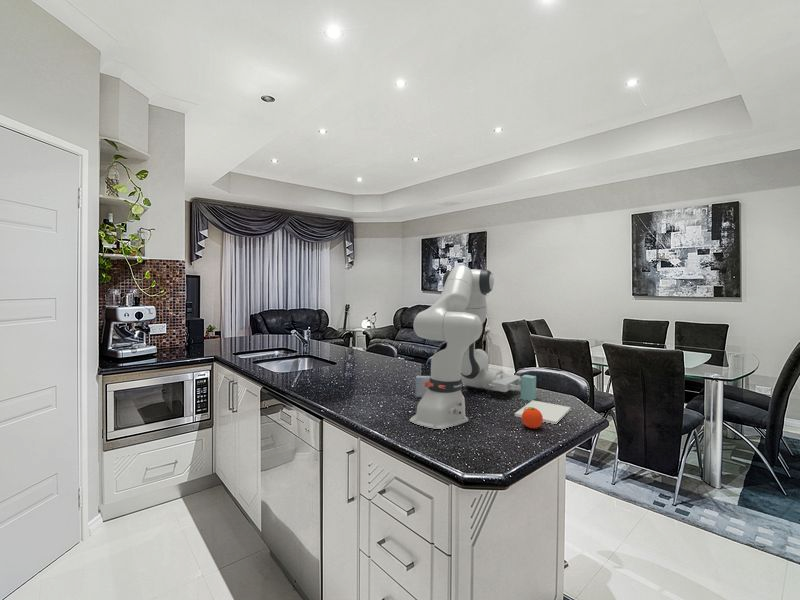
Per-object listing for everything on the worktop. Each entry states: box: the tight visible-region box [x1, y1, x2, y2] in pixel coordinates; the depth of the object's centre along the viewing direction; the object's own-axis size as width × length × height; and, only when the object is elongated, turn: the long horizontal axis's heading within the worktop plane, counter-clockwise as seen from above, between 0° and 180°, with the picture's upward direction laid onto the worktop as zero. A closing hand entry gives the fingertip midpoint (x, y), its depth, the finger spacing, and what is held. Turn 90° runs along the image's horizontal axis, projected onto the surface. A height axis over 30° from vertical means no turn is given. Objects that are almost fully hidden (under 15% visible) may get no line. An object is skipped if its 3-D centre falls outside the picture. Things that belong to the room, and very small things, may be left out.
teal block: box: [520, 374, 537, 402], centre depth 172 cm, size 5×5×10 cm
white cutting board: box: [514, 400, 571, 425], centre depth 152 cm, size 22×15×1 cm
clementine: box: [521, 407, 544, 429], centre depth 136 cm, size 8×7×7 cm
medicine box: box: [414, 375, 431, 398], centre depth 172 cm, size 8×4×9 cm, turn 84°
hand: (524, 385), depth 173 cm, fingers open, 8 cm apart
